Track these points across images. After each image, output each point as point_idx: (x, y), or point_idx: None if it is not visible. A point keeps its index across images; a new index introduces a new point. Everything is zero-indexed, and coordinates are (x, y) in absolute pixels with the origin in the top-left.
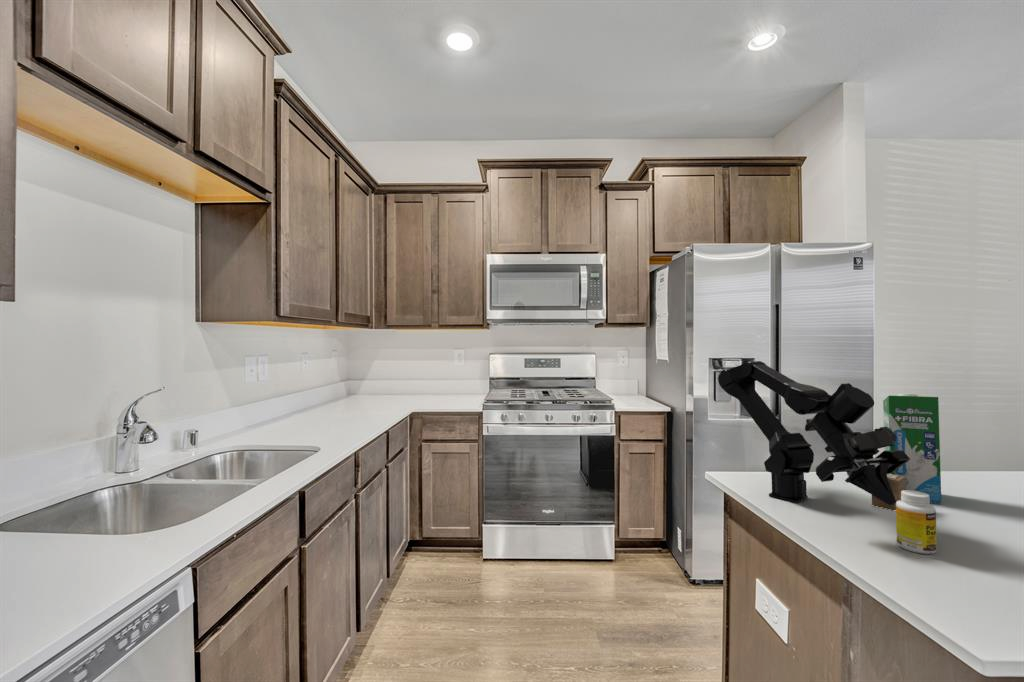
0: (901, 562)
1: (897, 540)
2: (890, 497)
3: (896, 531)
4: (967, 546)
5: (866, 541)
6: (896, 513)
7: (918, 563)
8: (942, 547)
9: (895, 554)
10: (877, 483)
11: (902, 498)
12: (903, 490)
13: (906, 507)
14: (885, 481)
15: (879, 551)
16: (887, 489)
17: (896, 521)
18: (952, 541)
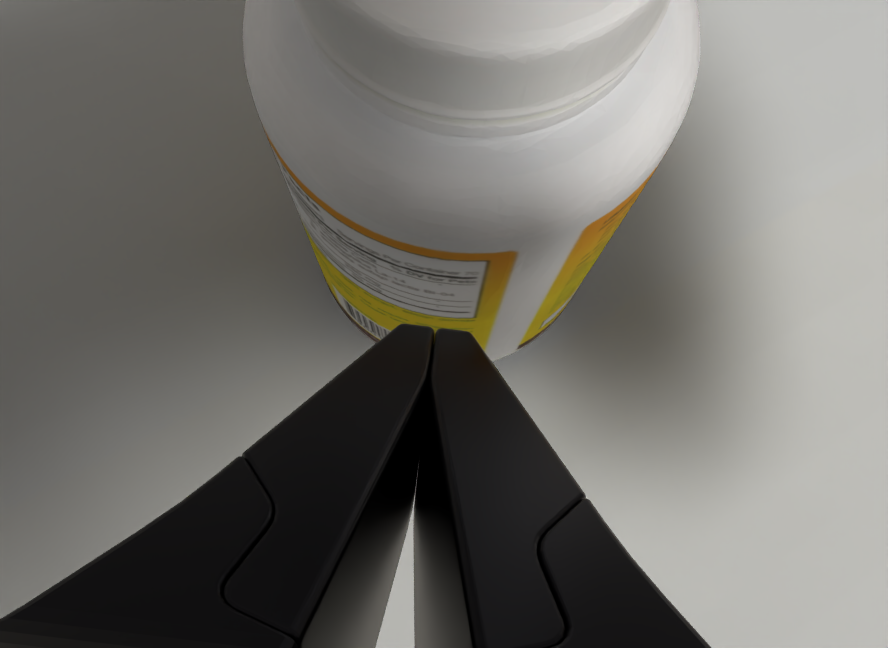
0: (817, 155)
1: (554, 320)
2: (466, 359)
3: (539, 323)
4: (33, 112)
5: (704, 504)
6: (604, 237)
7: (716, 101)
8: (235, 177)
9: (725, 248)
10: (600, 541)
11: (649, 41)
12: (505, 34)
13: (694, 16)
14: (285, 519)
15: (793, 330)
16: (405, 426)
17: (577, 277)
18: (15, 207)
